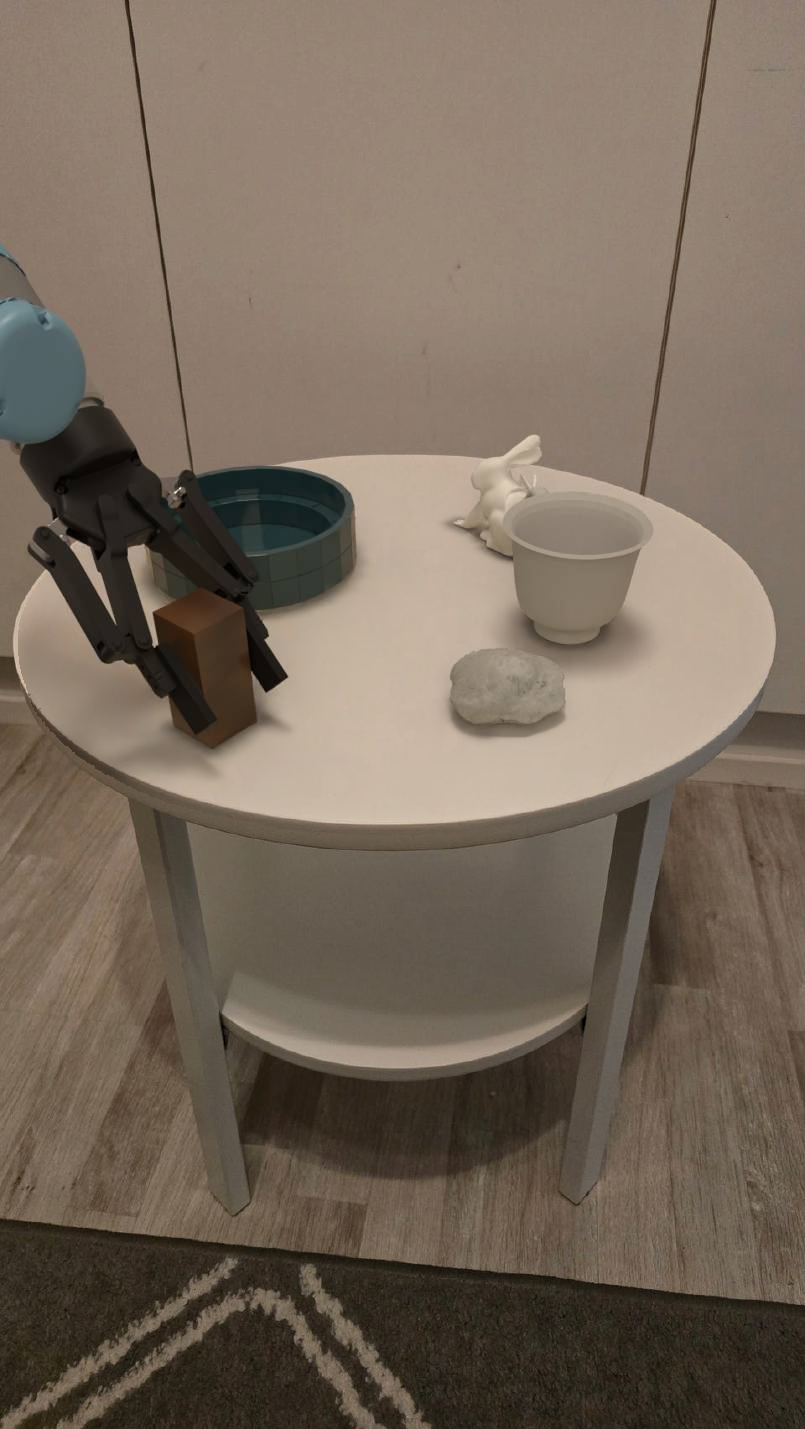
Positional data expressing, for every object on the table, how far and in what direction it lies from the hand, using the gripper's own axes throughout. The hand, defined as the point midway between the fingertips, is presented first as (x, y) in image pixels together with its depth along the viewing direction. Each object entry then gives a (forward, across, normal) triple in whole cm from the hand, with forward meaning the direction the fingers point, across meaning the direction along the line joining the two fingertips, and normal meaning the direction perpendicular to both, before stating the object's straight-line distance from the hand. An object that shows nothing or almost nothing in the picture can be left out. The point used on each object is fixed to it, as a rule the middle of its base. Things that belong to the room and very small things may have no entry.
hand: (242, 705), depth 71 cm
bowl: (-12, -19, -17) cm, 28 cm away
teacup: (+8, -29, +3) cm, 31 cm away
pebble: (+11, -16, +6) cm, 20 cm away
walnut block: (0, 0, -5) cm, 5 cm away
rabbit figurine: (0, -40, -6) cm, 40 cm away
